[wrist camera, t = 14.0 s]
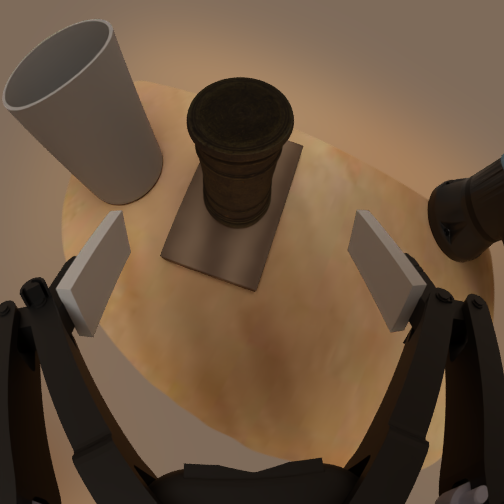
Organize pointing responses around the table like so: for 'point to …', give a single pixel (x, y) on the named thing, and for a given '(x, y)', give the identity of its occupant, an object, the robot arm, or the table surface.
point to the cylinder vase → (87, 111)
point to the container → (239, 146)
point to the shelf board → (229, 231)
